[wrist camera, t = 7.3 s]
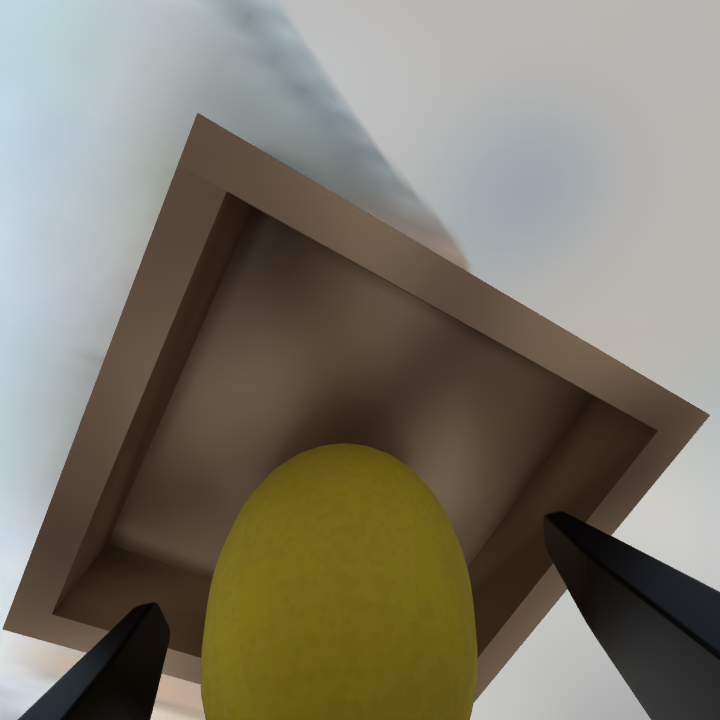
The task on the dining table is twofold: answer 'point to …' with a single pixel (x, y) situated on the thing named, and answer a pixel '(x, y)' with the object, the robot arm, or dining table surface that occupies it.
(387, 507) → the lemon
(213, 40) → the dining table surface
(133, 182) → the dining table surface
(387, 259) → the tray
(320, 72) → the dining table surface
